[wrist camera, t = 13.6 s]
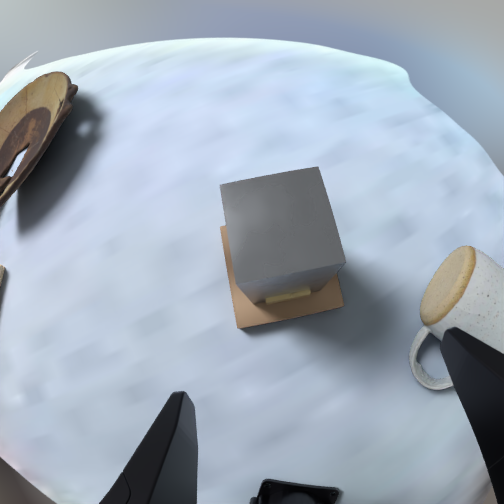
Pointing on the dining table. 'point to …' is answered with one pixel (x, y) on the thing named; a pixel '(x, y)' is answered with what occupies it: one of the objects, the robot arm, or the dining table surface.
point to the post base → (264, 313)
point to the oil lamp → (32, 125)
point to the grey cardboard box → (281, 235)
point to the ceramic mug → (462, 305)
